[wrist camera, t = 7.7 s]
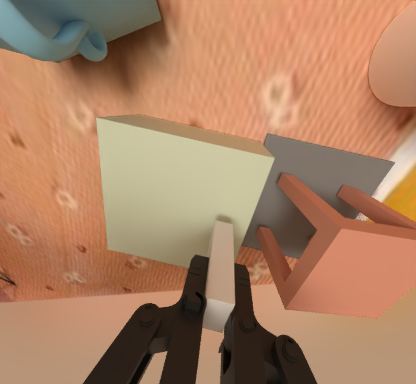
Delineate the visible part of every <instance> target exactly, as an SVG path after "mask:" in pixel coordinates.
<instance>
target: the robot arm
mask: <svg viewBox="0 0 416 384" xmlns="http://www.w3.org/2000/svg"><path fill="white" fill-rule="evenodd" d="M250 287H251V285H250V277H249V272H248V270H247V268H246V266H245V265H240V264H236V263H234V245H233V224H229V223H225V222H221V221H217V220H215V224H214V227H213V231H212V235H211V238H210V242H209V247H208V253H207V257H205V256H200V255H196V254H195V256H194V257H193V258H192V259H191V262H190V266H189V270H188V274H187V278H186V282H185V285H184V289H183V293H182V296H181V298H180V300H179V301H178V302H177V303H176V304H174V305H172V306H169V307H162V308H159V307H158V306H156V304H152V303H147V304H144V305H142V306H140V307H139V308H138V309H137V310H136V311H135V312H134V314H133V315H132V317H131V318H130V319H129V321H128V322H127V323H126V325H125V326H124V328H123V329H122V330H121V332H120V333H119V335H118V336H117V337H116V339H115V340H114V342H113V343H112V344H111V345H110V347H109V348H108V350H107V351H106V352H105V354H104V355H103V357H102V358H101V359H100V361H99V362H98V364H97V365H96V366H95V368H94V369H93V370H92V372H91V373H90V374H89V376H88V377H87V379H86V380H85V381H84V383H83V384H139V383H140V380H141V379H142V377H143V374H144V373H145V370H146V369H147V367H148V365H149V363H150V361H151V359H152V357H153V355H154V354H155V353H160V352H165V351H167V355H166V359H165V363H164V367H163V371H162V375H161V379H160V383H159V384H195V382H196V374H197V367H198V359H199V350H200V342H201V334H202V328H205V329H209V330H213V331H217V332H221V333H222V332H223V330H224V339H223V341H222V343H221V345H220V347H219V353H221V376H220V384H317V382H316V380H315V378H314V375H313V373H312V371H311V369H310V367H309V365H308V363H307V360H306V358H305V356H304V354H303V352H302V350H301V348H300V347H299V345H298V344H297V343H296V341H295V340H294V339H292V338H291V337H289V336H287V335H280V336H278V337H276V336H275V335H273V334H272V333H270V332H268V331H267V330H266V329H264V328H263V327H262V326H261V325H260V324H259V323H258V322H257V320H256V318H255V316H254V311H253V302H252V294H251V288H250Z"/></svg>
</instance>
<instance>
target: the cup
mask: <svg viewBox="0 0 416 384" xmlns="http://www.w3.org/2000/svg"><path fill="white" fill-rule="evenodd" d="M368 79H369V84H370V88H371V90H372V92H373V94H374V95H375V96H376V97H377V98H378V99H379V100H380V101H381V102H383V103H385V104H388V105H391V106H397V107H416V0H414V1H413V2H412V3H410V4H409V5H408V6H406V7H405V8H404V9H403V10H402V11H401V12H400V13H399V14H398V15H397V16H396V17H395V18H394V19H393V20H392V21H391V22H390V23H389V25H388V26H387V27H386V29H385V30H384V31H383V33H382V34H381V36H380V38H379V39H378V41H377V43H376V45H375V48H374V50H373V53H372V55H371V59H370V63H369V70H368Z"/></svg>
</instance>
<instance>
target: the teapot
mask: <svg viewBox="0 0 416 384" xmlns="http://www.w3.org/2000/svg"><path fill="white" fill-rule="evenodd" d="M161 20H162V19H161V15H160V12H159V8H158V4H157V1H156V0H0V48H2V49H6V50H10V51H14V52H17V53H21V54H25V55H27V56H29V57H31V58H34V59H37V60H42V61H52V62H56V63H60V62H62V61H64V60H67V59H69V58H72V57H74V56H76V55H79V54H82V55H83V56H84V57H85V58H86V59H88V60H91V61H101V60H103V59H104V58H105V57H106V55H107V51H108V50H107V44H106V43H108V42H110V41H112V40H115V39H117V38H120V37H122V36H124V35H127V34H129V33H132V32H134V31H137V30H139V29H141V28H144V27H146V26H149V25H151V24H153V23H156V22H158V21H161Z"/></svg>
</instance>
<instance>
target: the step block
mask: <svg viewBox="0 0 416 384" xmlns="http://www.w3.org/2000/svg"><path fill="white" fill-rule="evenodd" d="M96 122H97V133H98V144H99V156H100V167H101V178H102V189H103V200H104V212H105V223H106V234H107V245H108V249H109V250H113V251H117V252H121V253H125V254H130V255H134V256H138V257H142V258H147V259H151V260H155V261H159V262H163V263H168V264H172V265H176V266H180V267H184V268H189V266H190V262H191V259H192V258H193V257H194V256H195V254H196V255H200V256H205V257H207V253H208V247H209V242H210V238H211V235H212V231H213V227H214V224H215V220H217V221H221V222H225V223H229V224H233V245H234V263H235V260H236V258H237V255H238V252H239V250H240V247H241V245H242V242H243V239H244V237H245V234H246V232H247V229H248V226H249V224H250V221H251V219H252V216H253V213H254V211H255V208H256V206H257V203H258V201H259V198H260V195H261V193H262V190H263V188H264V185H265V182H266V180H267V177H268V175H269V172H270V169H271V167H272V164H273V162H274V159H275V158H274V157H273V156H272V154H271V153H270V152H269V151H268V150H267V149H266V148H265V147H264V145H263V144H262V143H261V142H260V141H255V140H251V139H247V138H242V137H238V136H233V135H229V134H225V133H220V132H216V131H211V130H207V129H203V128H198V127H194V126H189V125H185V124H181V123H176V122H172V121H167V120H163V119H159V118H154V117H150V116H145V115H141V114H136V115H123V116H109V117H96Z"/></svg>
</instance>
